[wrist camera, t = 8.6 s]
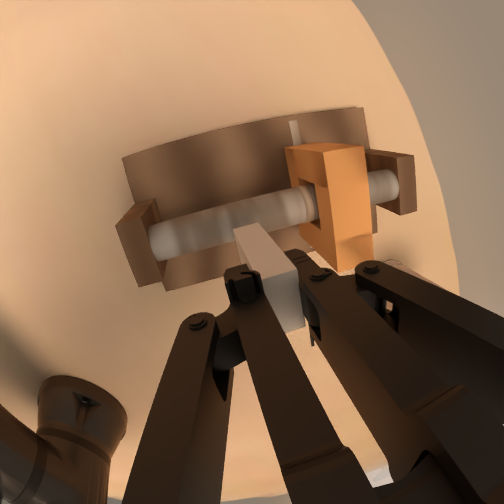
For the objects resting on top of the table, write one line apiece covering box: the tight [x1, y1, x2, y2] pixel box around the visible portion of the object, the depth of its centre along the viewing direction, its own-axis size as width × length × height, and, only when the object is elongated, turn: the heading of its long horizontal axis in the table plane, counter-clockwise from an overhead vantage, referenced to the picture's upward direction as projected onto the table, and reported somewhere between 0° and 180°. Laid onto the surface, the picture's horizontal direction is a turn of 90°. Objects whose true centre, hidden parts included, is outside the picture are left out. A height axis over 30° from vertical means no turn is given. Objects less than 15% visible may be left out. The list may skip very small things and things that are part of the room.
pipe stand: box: [115, 107, 417, 291], centre depth 25 cm, size 24×14×8 cm, turn 102°
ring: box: [284, 142, 373, 273], centre depth 22 cm, size 3×8×8 cm, turn 12°
